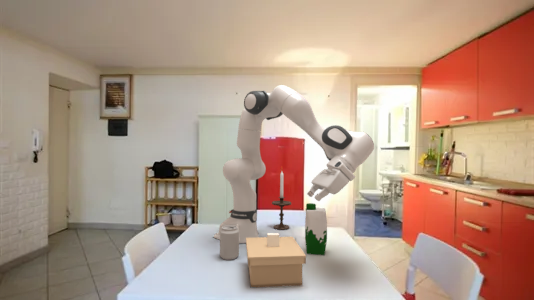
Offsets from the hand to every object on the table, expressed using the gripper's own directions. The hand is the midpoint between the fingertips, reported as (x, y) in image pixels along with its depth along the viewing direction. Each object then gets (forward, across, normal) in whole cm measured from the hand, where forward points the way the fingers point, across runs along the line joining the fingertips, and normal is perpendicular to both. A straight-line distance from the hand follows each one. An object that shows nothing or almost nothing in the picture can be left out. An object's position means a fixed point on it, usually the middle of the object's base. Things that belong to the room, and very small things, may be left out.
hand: (312, 197), depth 95 cm
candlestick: (+19, -58, +17) cm, 63 cm away
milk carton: (+13, -19, +23) cm, 33 cm away
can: (+39, -16, -2) cm, 42 cm away
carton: (+28, +1, +8) cm, 29 cm away
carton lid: (+23, +1, +3) cm, 23 cm away
